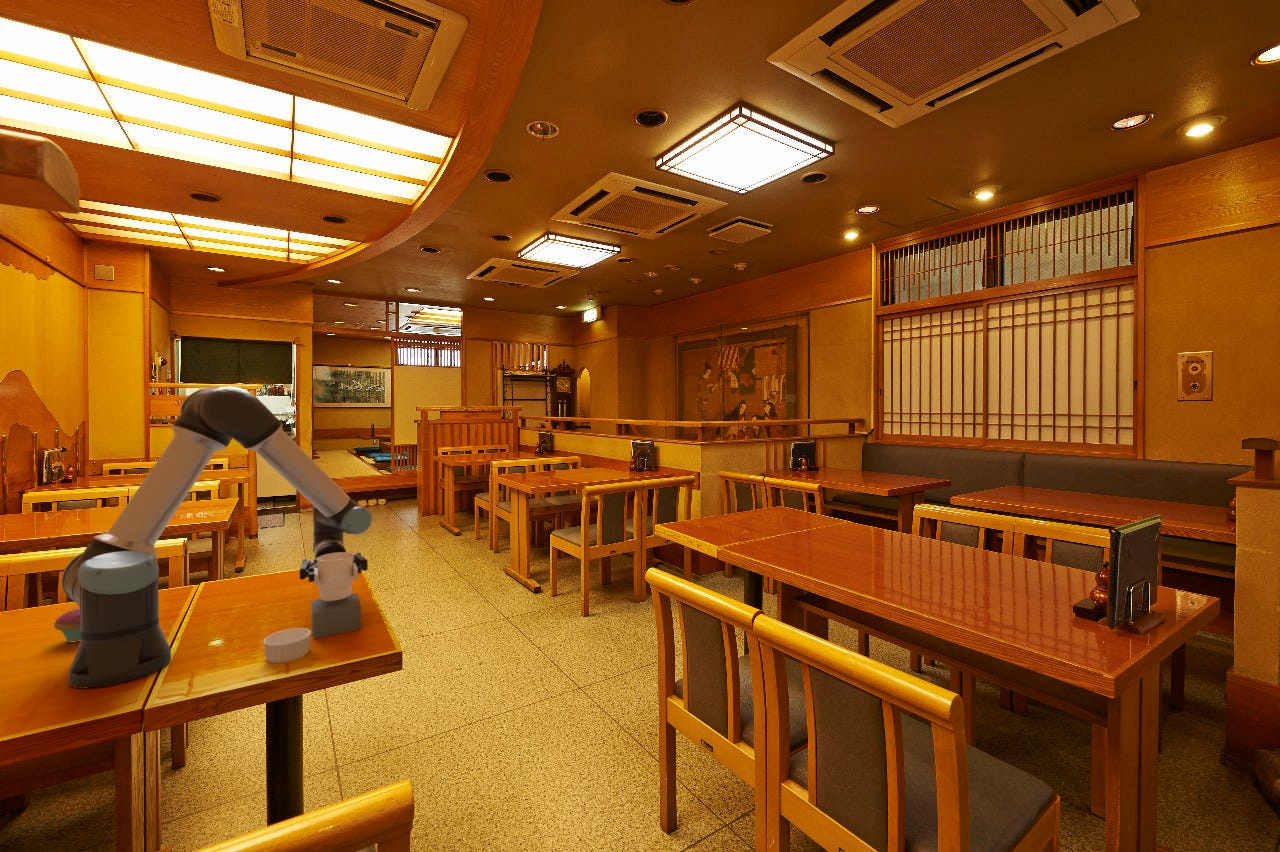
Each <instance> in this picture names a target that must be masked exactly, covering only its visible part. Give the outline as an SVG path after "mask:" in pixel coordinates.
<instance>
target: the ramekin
mask: <svg viewBox="0 0 1280 852" xmlns="http://www.w3.org/2000/svg"><path fill="white" fill-rule="evenodd" d="M312 634H313V631H312V630H311V629H310V628H306V627H296V628H295V627H294V628H286V629H283V630H280V631H276V632H274V633H271V634H269V635H267V636H266V637H265V638H264V639H263V640H262V643H263V646H264V652H265V659H266V661H267V662H268V663H273V664H283V663H287V662H288V663H289V662H292V661H296V660H299V659H300V658H302V657H304V656H306V655H307V654H308V653H309V652H310V647H311V636H312Z"/></svg>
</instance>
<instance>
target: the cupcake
mask: <svg viewBox="0 0 1280 852" xmlns="http://www.w3.org/2000/svg"><path fill="white" fill-rule="evenodd" d="M53 626H54V629H56V630H57V631H61V633H63V635H64V637H65V639H66V641H67V640H68V641H78V640H81V633H80V608H75V609H72V610H69V611H67V612H65V613H63V614H62V615H60V616H58V618H57V619H55V622H54V625H53Z"/></svg>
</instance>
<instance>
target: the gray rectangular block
mask: <svg viewBox="0 0 1280 852" xmlns="http://www.w3.org/2000/svg"><path fill="white" fill-rule="evenodd" d="M361 606H362V605H361V602H360V599H359V595H358V593H352V594H351V595H350V596H349V597H347V598H344V599H340V600H335V601H324V600H321V598H317V599H313V600H311V628H312V630H311V631H312V639H317V638H323V637H328V636H333V635H337V634H338V635H339V634H342V633H348V632H353V630H355V631H359V630H358V629H360V630H362V609H361V608H362V607H361Z"/></svg>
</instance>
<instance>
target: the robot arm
mask: <svg viewBox="0 0 1280 852" xmlns="http://www.w3.org/2000/svg"><path fill="white" fill-rule="evenodd" d="M180 407H181V408H180V415H179V416H178V417H177V419H175V422H174V424H173V425H172V426H171V429H172V431H173V435H174V437H173V438H172V439H171V441H170V443H168V445H167V447H166V448H165V450H164V451H163V453H162V454H161V455H160V457H158V460H157V461H156V463H155V464H154V465H153V467H152V468H151V469H150V471H149V472H148V474H147V475H146V477H145V478H144V480H143V481H142V483H141V484H140V486H139V487H138V488H137V490H136V491H135V493H134V494H133V496H132V497H131V498H130V499H129V501H128V503H126V506H125V507H124V508H123V510H122V511H121V512H120V514H119V516H118V517H117V518H116V519H115V521H114V523H113V524H112V526H111V527H110V528H109V530H107V531H105V532H104V533H101V534H98V535H95V536H94V537H93V538H92V539H91V541H90V542H89V543H88V545H87V546H86V548H85V549H84V551H83V552H81V553H79V554H78V555H76V556H75V557H73V559H72V560H70V561H69V563H68V564H67V565H66V566H65V569H64V570H63V573H62V577H61V584H62V589H63V591H64V593H65V596H67V597H68V599H69V600H70V601H72V602H74V603H75V604H76V605H77V606H79V609H80V633H81V641H80V642H79V645H78V647H77V650H76V653H75V655H74V657H73V660H72V662H71V665H70V667H69V670H68V685H69V684H71V685H72V686H76V687H97V688H99V687H98V686H105V687H109V686H108V685H110V686H114V685H113V684H115V685H119V684H118V683H120V684H122V682H124V683H126V681H127V682H131V681H133V679H134V680H137V679H140V678H143V677H145V675H146V676H148V675H150V674H149V673H151V674H153V673H155V672H157V671H160V670H161V669H163V668H164V667H165V666H167V665H168V664H169V663H170V662H171V660H172V651H171V647H170V644H169V643H168V640H167V638H166V636H165V634H164V632H163V630H162V627H161V625H160V609H159V608H160V601H159V599H160V598H159V595H160V594H159V575H160V568H159V565H158V559H157V555H158V553H157V550H156V548H155V544H156V543H157V541H158V540H159V538H160V537H161V536H162V534H163V532H164V530H165V529H166V527H167V526H168V524H169V523H170V521H171V520H172V518H173V517H174V515H175V514H176V513H177V511H178V509H179V508H180V506H181V504H182V503H183V501H184V500H185V499H186V497H187V496H188V494H189V493H190V491H191V490H192V488H193V486H194V485H195V484H196V482H197V480H198V479H199V477H200V476H201V474H202V473H203V472H204V470H205V469H206V466H207V465H208V464H209V462H210V460H211V459H212V457H213V456H214V454H215V453H217V452H219V451H223V450H226V449H227V448H228V446H229V445H230V443H231V441H232V440H233V441H235V442H237V443H239V444H240V446H242V447H243V448H244V449H246V450H253V451H254V452H255V453H257V455H259V457H261V458H262V459H263V460H264V461H265V462H266V463H267V464H268V465H269V466H270V467H271V468H272V469H274V471H276V472H277V473H278V474H279V475H280V476H281V477H283V479H284V480H286V482H288V483H289V484H290V485H291V486H292V487H293V488H294V489H295V490H296V491H297V492H299V493H300V495H301V496H303V497H304V498H305V499H306V500H307V501H308V502H309V503H310V504H311V505H312V515H313V516H312V518H313V519H312V520H313V521H312V522H313V543H312V552H313V554H314V559H313V560H312V561H311V559H302V560H301V563H302V565H301V566H300V568H299V580H305V579H306V578H308V582H309V583H313V582H314V587H319V574H318V569H317V558H318V557H319V556H322V555H325V554H330V553H337V552H347V550H346V548H345V547H346V546H345V544H344V533H345V534H347V535H361V534H363V533H366V532H367V530H368V529H369V528H370V527H371V525H372V522H373V515H372V512H371V511H370V510H369V509H368V508H366V507H364V506H362V505H358V504H357V503H356V502H355V501H354V500H353V499H352V498H351V497H350V496H349V495H348V494H347V493H346V492H345V491H344V490H343V489H342V488H341V487H340V486H339V485H338V484H337V483H336V482H335V481H334V480H333V479H332V478H331V477H330V476H329V475H328V474H327V473H326V472H325V470H323V469H322V468H321V467H320V466H319V464H317V463H316V462H315V461H314V460H313V458H311V457H310V456H309V455H308V454H307V453H306V452H305V450H303V449H302V447H300V446H299V445H298V444H297V443H296V442H295V441H294V440H293V439H292V438H291V437H290V436H289V435H288V434H287V433H286V432H285V431H284V430H283V423H282V421H281V420H280V419H279V418H278V417H276V415H275V414H274V413H273V412H272V411H271V410H270V409H269V408H268V407H267V406H266V405H265V404H264V403H263V402H262V401H261V400H260V399H259V398H258V397H257V396H255V395H254V394H253V393H252V392H250V391H248V390H246V389H243V388H241V387H238V386H229V385H228V386H222V387H219V386H209V387H204V388H201V389H199V390H196V391H194V392H192V393H191V394H189V395H188V396H187V397H186V398H185V399H184V400H183V403H182V404H181V406H180ZM368 568H369V565H368V559H367V558H365V557H364V556H363V555H362V553H361V552H357V553H355V554H354V553H353V580H354V581H359V574H362V573H363V572H362V571H368ZM154 671H155V672H154ZM152 672H153V673H152ZM147 674H148V675H147ZM136 678H137V679H136ZM130 680H131V681H130ZM72 686H71V687H72Z"/></svg>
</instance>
